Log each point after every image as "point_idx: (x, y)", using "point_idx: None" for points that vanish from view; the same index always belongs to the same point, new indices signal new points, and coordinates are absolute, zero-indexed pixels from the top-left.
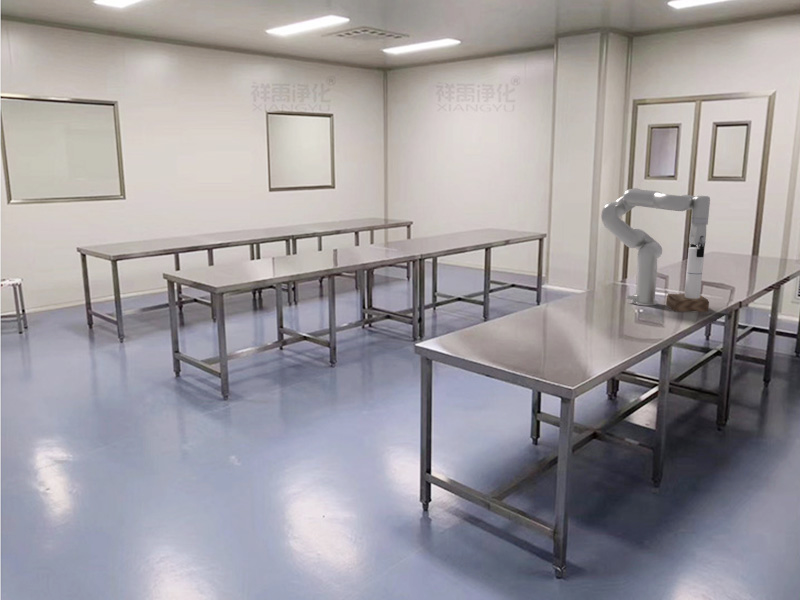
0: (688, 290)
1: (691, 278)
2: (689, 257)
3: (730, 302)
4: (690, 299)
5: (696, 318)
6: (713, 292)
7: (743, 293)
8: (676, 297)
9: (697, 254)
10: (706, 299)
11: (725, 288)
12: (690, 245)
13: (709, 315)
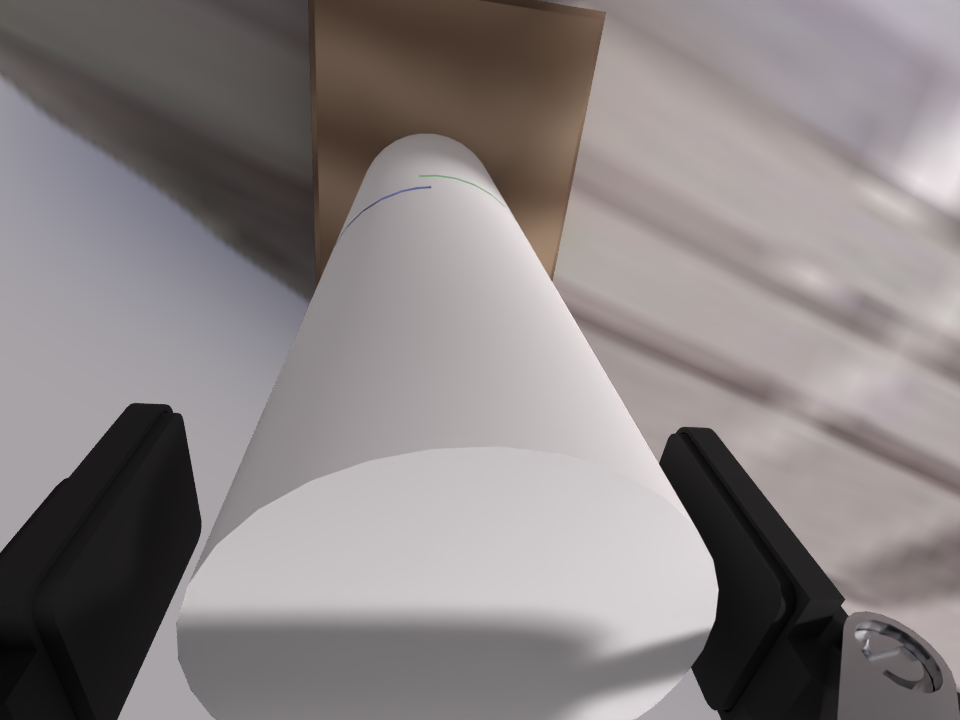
0: (386, 157)
1: (356, 206)
2: (397, 287)
3: None
4: (324, 142)
5: (67, 64)
6: (823, 497)
7: None
8: (418, 30)
9: (96, 457)
10: None
11: (874, 573)
12: (898, 636)
13: (208, 224)
